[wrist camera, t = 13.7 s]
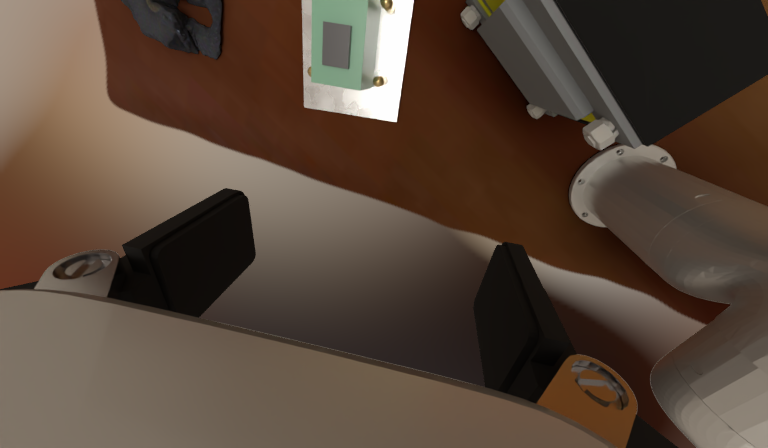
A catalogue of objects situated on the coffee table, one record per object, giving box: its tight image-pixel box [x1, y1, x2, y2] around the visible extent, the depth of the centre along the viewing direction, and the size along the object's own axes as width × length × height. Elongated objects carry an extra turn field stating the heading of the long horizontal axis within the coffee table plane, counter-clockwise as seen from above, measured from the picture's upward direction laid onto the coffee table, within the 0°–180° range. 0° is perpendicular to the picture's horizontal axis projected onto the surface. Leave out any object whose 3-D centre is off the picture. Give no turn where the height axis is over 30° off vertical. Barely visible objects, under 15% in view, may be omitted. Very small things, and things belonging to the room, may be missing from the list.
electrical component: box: [461, 0, 768, 150], centre depth 25 cm, size 18×10×20 cm, turn 45°
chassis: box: [302, 0, 414, 122], centre depth 35 cm, size 14×18×4 cm
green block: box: [311, 0, 381, 91], centre depth 33 cm, size 6×10×8 cm, turn 172°
